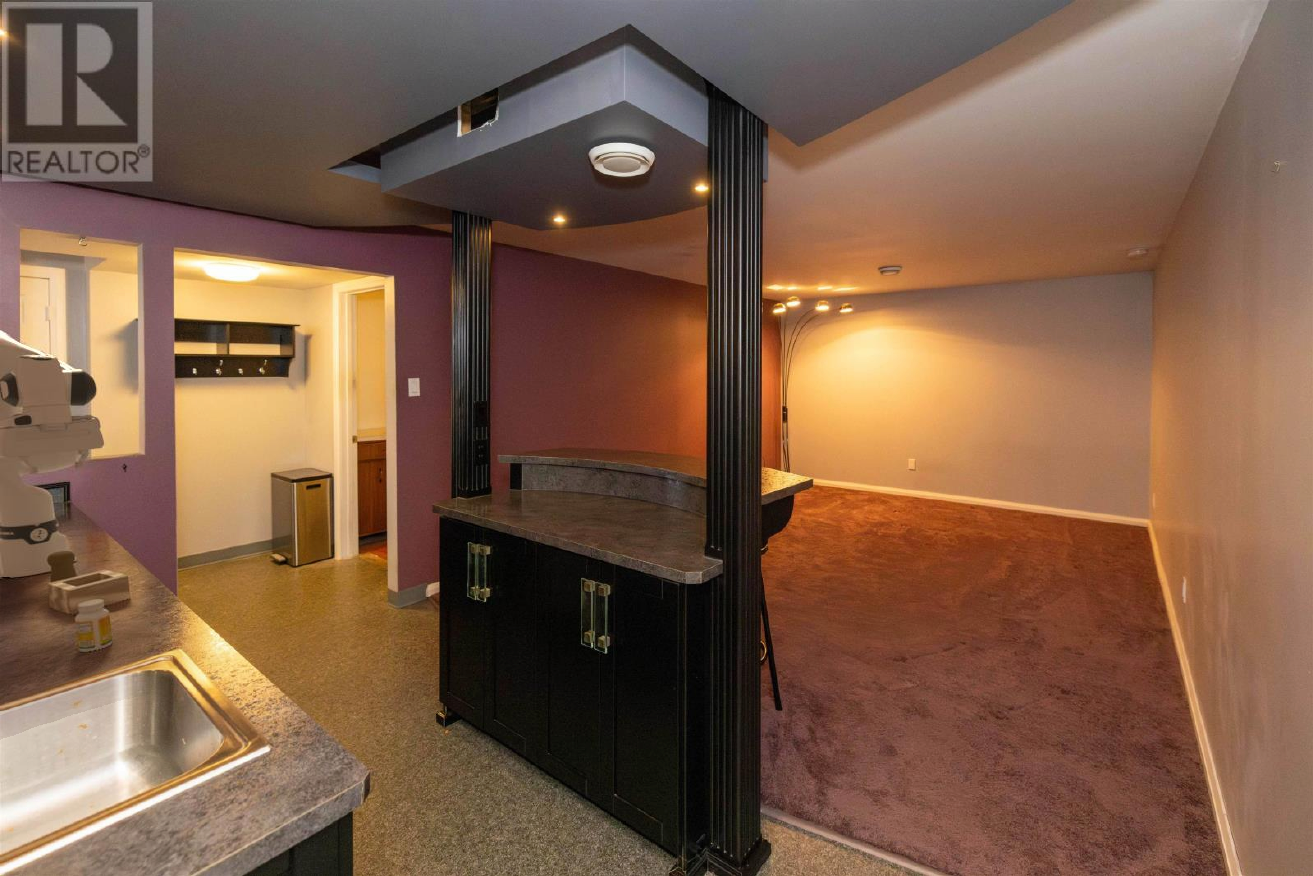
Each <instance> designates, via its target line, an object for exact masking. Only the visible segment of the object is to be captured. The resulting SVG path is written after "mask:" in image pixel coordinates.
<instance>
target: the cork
mask: <svg viewBox="0 0 1313 876" xmlns="http://www.w3.org/2000/svg"><path fill="white" fill-rule="evenodd" d="M75 557H76V555H75V553H74V552H73V551H72V550H69V551H60V552H55V553H52V554H50V555H49V556H48V558H47V562H48V564H49V565H50V566H51V571H50V580H49V581H50V582H49V583H52V582H56V581H60V580H64V579H69V578H73V577H77V576H78V575H77V572H76V568H75V565H74V562H75V561H74V560H75Z"/></svg>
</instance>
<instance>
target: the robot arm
mask: <svg viewBox="0 0 1313 876" xmlns="http://www.w3.org/2000/svg"><path fill="white" fill-rule="evenodd" d="M95 381H96V380H95V379H94V378H93V377H92V376H91V374H89V373H88V372H86V371H85V370H83V369H81V368H79V369H77V368H74V367H73V366H70V365H69V364H67V363H65V362H64V361H62V360H60V359H59V358H57V357H55V356H53V355H52V354H49V353H47V352H44V351H41V350H38V349H35V348H33V347H30V346H28V345H25V344H23V343H21V342H19V341H17V340H16V339H15V338H13V337H12V336H11V335H10V334H8V333H6V332H5V331H3V330H1V329H0V577H10V578H19V577H27V576H34V575H39V574H44V573H49V572H51V566H50V565H49V564H48V562H47V558H48V556H49V555H50V554H52V553H55V552H60V551H70V549H69V545H68V539H67V536H66V535H65V534H63V533H60V532H59V530H60V529H59V525H60V524H59V521H58V519H57V517H56V516H55V514H56V513H55V509H54V508H55V507H54V502H53V501H54V500H53V495H52V494H51V493H50V492H49V491H48V490H47V489H45V488H43V487H38V486H35V485H32V484H26V483H24V481H23V478H22V476H24V475H25V476H26V475H33V474H35V475H36V474H41V473H49V472H56V471H58V470H63V469H66V468H70V467H73V466H74V465H75V466H74V467H75V469H83V468H86V463H85V462H86V460H87V458H88V456H89V454H90V452H89V450H96V449H97V450H98V449H102V448H103V446H104V445H105V441H104V437H103V434H102V431H101V422H100V419H99V418H98V417H97V416H93V415H91V414H87V415H72V411H71V407H83V406H86V405H88V403H90V402H91V401H93V400H94V399H95V398H96V396H97V383H96V382H95ZM77 561H78V559H77V557H76V556H75V560H74V562H77Z"/></svg>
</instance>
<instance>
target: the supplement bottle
mask: <svg viewBox="0 0 1313 876" xmlns="http://www.w3.org/2000/svg"><path fill="white" fill-rule="evenodd" d="M78 611H79V612H80V613H78V614H76V616H75V618H74V624H75V625H74V626H75V632H76V642H77V648H78V650H79V652H81V653H89V651H91V652H95V651H94V650H96V651H99V649H100V650H102V648H103V649H105V648H107V647H109V646H110V645H112V643H113V632H112V625H111V616H110V615H111V614H110V610H108V609H107V608H105V606H104V600H102V599H95V600H89V601H85V602H82V603H80V604H79V605H78Z"/></svg>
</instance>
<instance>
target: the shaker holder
mask: <svg viewBox="0 0 1313 876" xmlns="http://www.w3.org/2000/svg"><path fill="white" fill-rule="evenodd" d="M47 591H48V596H49V597H48V599H49V604H50V608H51V607H52V609H54V608H55V610H57V609H59V610H58V611H60V610H61V611H60V612H62V611H64V612H63V613H65V612H66V614H68V615H71V614H72V615H71V616H74V615H73V614H75V615H78V614H80V612H79V611H78V605H79V604H80V603H82V602H85V601H89V600H95V599H102V600H104V607H105V605H107V606H109V605H108V604H110V605H112V604H113V603H114V604H117V603H120V602H119V601H121V602H123V601H122V600H124V601H127V599H128V600H130V599H131V592H130V584H129V575H127V574H124V573H119V572H115V571H112V570H108V569H101V570H99V571H94V572H90V573H86V574H82V575H77V577H73V578H69V579H64V580H60V581H56V582H52V583H50V582H49V583H47ZM129 598H130V599H129ZM116 602H117V603H116ZM114 604H113V605H114Z"/></svg>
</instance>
